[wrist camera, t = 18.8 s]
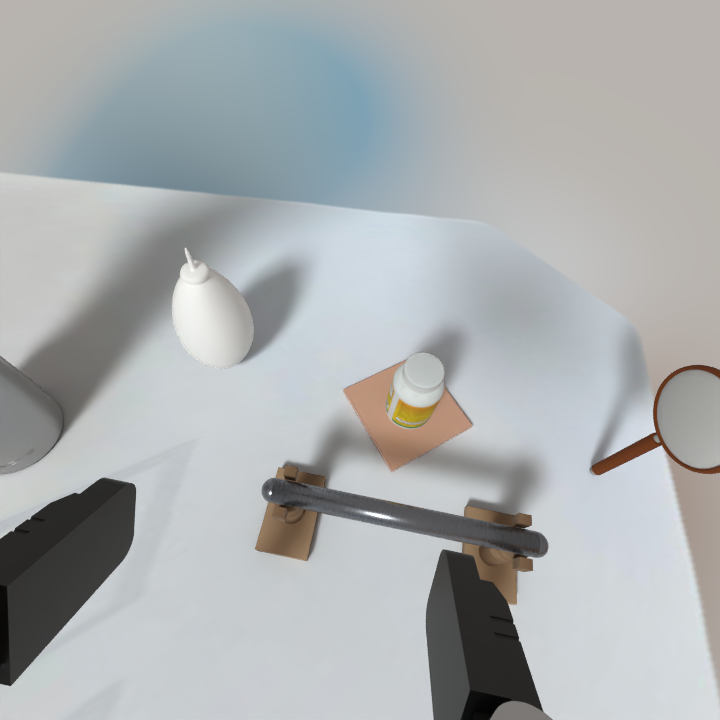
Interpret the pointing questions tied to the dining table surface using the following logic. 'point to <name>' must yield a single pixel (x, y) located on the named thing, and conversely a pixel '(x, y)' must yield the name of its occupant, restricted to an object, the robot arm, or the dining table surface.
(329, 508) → the bar
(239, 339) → the white air blower bulb
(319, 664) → the dining table surface
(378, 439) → the tile
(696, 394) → the magnifying glass
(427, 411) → the supplement bottle
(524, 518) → the hurdle stand
